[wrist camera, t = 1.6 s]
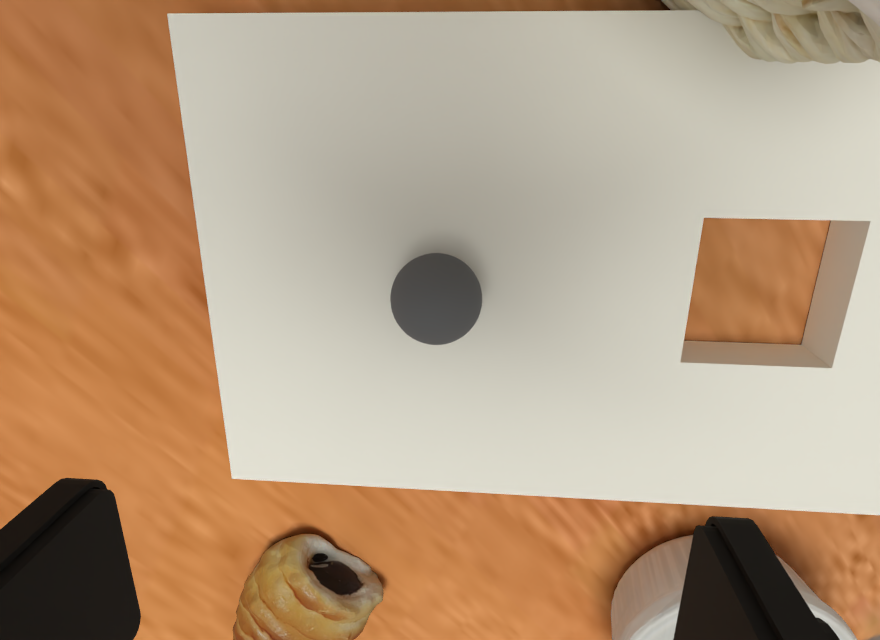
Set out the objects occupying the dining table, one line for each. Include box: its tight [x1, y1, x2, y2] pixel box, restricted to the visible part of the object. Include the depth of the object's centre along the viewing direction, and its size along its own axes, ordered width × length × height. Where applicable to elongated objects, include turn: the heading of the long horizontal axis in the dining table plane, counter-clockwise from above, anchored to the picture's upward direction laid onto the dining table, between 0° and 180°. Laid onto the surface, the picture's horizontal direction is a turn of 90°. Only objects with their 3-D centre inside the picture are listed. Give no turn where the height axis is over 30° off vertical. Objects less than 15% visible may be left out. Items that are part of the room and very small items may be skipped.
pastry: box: [233, 534, 383, 640], centre depth 32 cm, size 9×7×4 cm
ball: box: [390, 253, 482, 345], centre depth 22 cm, size 4×4×4 cm
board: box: [167, 10, 880, 515], centre depth 24 cm, size 32×20×2 cm, turn 90°
